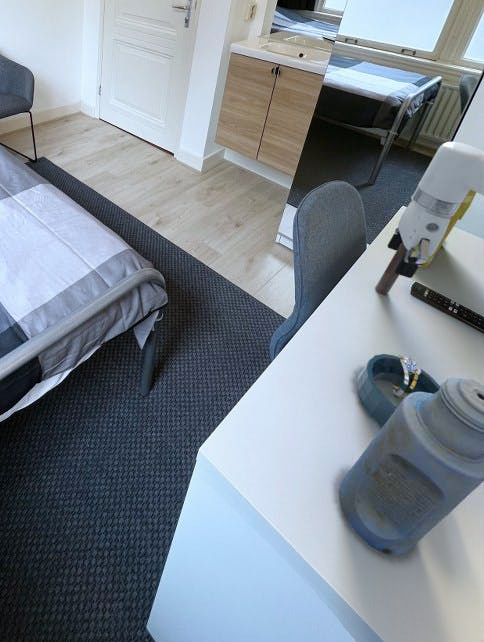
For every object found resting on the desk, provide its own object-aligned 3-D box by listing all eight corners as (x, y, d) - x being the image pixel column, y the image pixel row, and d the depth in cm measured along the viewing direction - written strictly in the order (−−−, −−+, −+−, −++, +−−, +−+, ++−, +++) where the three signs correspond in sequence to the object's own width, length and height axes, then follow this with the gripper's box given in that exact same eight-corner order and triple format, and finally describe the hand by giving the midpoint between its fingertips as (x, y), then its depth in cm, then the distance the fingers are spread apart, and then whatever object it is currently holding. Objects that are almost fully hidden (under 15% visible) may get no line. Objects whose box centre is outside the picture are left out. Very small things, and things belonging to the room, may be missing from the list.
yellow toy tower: (414, 231, 123) (457, 158, 111) (441, 244, 118) (489, 170, 106) (398, 257, 112) (443, 179, 100) (427, 272, 108) (479, 193, 96)
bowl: (425, 391, 79) (440, 372, 76) (443, 460, 69) (462, 441, 66) (351, 362, 83) (363, 343, 80) (358, 423, 73) (372, 404, 70)
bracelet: (403, 409, 76) (424, 383, 72) (383, 399, 77) (402, 372, 73) (402, 378, 81) (421, 352, 77) (383, 369, 82) (401, 343, 79)
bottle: (323, 504, 62) (416, 383, 48) (354, 461, 68) (446, 342, 53) (392, 578, 56) (524, 465, 41) (421, 525, 61) (546, 408, 47)
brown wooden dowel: (384, 292, 101) (413, 245, 93) (386, 300, 99) (415, 252, 91) (372, 288, 101) (399, 241, 94) (374, 295, 99) (402, 248, 92)
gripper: (471, 230, 78) (427, 295, 87) (445, 184, 92) (409, 243, 101) (424, 217, 81) (386, 281, 89) (405, 174, 95) (374, 233, 103)
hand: (398, 261), depth 95 cm, fingers open, 8 cm apart
